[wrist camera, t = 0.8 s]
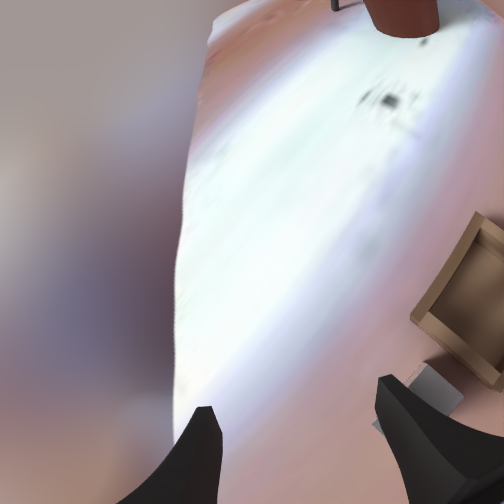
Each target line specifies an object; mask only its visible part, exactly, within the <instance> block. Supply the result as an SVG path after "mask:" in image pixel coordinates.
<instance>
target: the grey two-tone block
mask: <svg viewBox="0 0 504 504" xmlns="http://www.w3.org/2000/svg"><path fill="white" fill-rule="evenodd" d="M404 385H405V386H406V387H407V388H409V389H410V390H411V391H412V392H413V393H415V394H416V395H417V396H418V397H420V398H421V399H422V400H424V401H425V402H426V403H428V404H429V405H430V406H432V407H433V408H435V409H436V410H438V411H439V412H441V413H443V414H444V415H446V416H449V415H450V414H451V413H452V412H453V410H454V409H455V408H456V407H457V406H458V405H459V403H460V402H461V401H462V400H463V399H464V397H465V396H463V395H462V394H461V393H460V392H459V391H458V390H457V389H456V388H454V387H453V386H452V385H451V384H450V383H449V382H448V381H447V380H445V379H444V378H443V377H442V376H441V375H440V374H439V373H437V372H436V371H435V370H434V369H433V368H432V367H431V366H429V365H428V364H426V363H424V362H422V363H421V364H420V365H419V366H418V368H417V369H416V370H415V371H414V372H413V374H412V375H411V376H410V377H409V378H408V379H407V380H406V382H405V383H404ZM372 425H373V426H374V427H375V428H376V429H377V430H379V431H380V432H381V433H382V434H383V435H384V433H383V431H382V429H381V426H380V423H379V420H378V417H376V418H375V420H374V422H373V423H372ZM384 436H385V435H384Z"/></svg>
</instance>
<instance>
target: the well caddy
mask: <svg viewBox="0 0 504 504" xmlns="http://www.w3.org/2000/svg"><path fill="white" fill-rule="evenodd" d="M410 320H411V321H412V322H413V323H414V324H416V325H417V326H418V327H419V328H420V329H422V330H423V331H424V332H425V333H426V334H428V335H429V336H430V337H431V338H432V339H434V340H435V341H436V342H437V343H438V344H439V345H441V346H442V347H443V348H444V349H445V350H446V351H448V352H449V353H450V354H451V355H452V356H453V357H455V358H456V359H457V360H458V361H459V362H460V363H461V364H463V365H464V366H465V367H466V368H467V369H468V370H469V371H471V372H472V373H473V374H474V375H475V376H476V377H477V378H478V379H479V380H481V381H482V382H483V383H484V384H485V385H486V386H487V387H488V388H489V389H492V390H495V391H497V392H500V393H501V392H502V390H503V389H504V231H503V230H502V229H501V228H499V227H498V226H497V225H495V224H494V223H492V222H491V221H490V220H488V219H487V218H485V217H484V216H482V215H481V214H480V213H478V212H477V211H475V213H474V215H473V217H472V219H471V221H470V222H469V224H468V226H467V228H466V230H465V231H464V233H463V235H462V237H461V238H460V240H459V242H458V244H457V245H456V247H455V249H454V250H453V252H452V254H451V255H450V257H449V258H448V260H447V262H446V263H445V265H444V266H443V268H442V269H441V271H440V272H439V274H438V275H437V277H436V278H435V280H434V281H433V283H432V284H431V286H430V287H429V289H428V290H427V292H426V293H425V294H424V296H423V297H422V299H421V300H420V301H419V303H418V304H417V306H416V307H415V308H414V310H413V311H412V312H411V314H410Z"/></svg>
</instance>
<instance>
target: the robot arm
mask: <svg viewBox="0 0 504 504" xmlns="http://www.w3.org/2000/svg"><path fill="white" fill-rule="evenodd" d="M375 411H376V414H377V417H378V420H379V423H380V426H381V429H382V431H383V433H384V435H385V437H386V439H387V441H388V444H389V446H390V448H391V450H392V452H393V454H394V456H395V459H396V461H397V463H398V465H399V468H400V471H401V474H402V477H403V481H404V484H405V488H406V492H407V495H408V499H409V504H504V437H500V436H495V435H491V434H488V433H484V432H481V431H478V430H476V429H473V428H470V427H468V426H465V425H463V424H461V423H459V422H457V421H455V420H453V419H451V418H449V417H448V416H446V415H444V414H443V413H441V412H439V411H438V410H436V409H435V408H433V407H432V406H430V405H429V404H428V403H426V402H425V401H424V400H422V399H421V398H420V397H418V396H417V395H416V394H415V393H413V392H412V391H411V390H410V389H409V388H407V387H406V386H405V385H404V384H403V383H401V382H400V381H399V380H398V379H397V378H396V377H394V376H393V375H392V374H390V375H386V376H383V377H379V378H378V387H377V395H376V402H375ZM222 454H223V438H222V431H221V429H220V427H219V424H218V422H217V419H216V417H215V414H214V411H213V409H212V406H205V407H197V408H196V410H195V412H194V414H193V415H192V417H191V419H190V421H189V423H188V425H187V426H186V428H185V430H184V431H183V433H182V435H181V436H180V438H179V439H178V441H177V443H176V444H175V446H174V447H173V449H172V450H171V451H170V453H169V454H168V455H167V457H166V458H165V459H164V461H163V462H162V463H161V464H160V465H159V467H158V468H157V469H156V470H155V471H154V472H153V473H152V474H151V475H150V476H149V477H148V479H146V480H145V481H144V482H143V483H142V484H141V485H140V486H139V487H138V488H137V489H135V490H134V491H133V492H131V493H130V494H129V495H128V496H126V497H125V498H124V499H122V500H121V501H119V502H118V503H116V504H217V495H218V486H219V479H220V471H221V463H222Z"/></svg>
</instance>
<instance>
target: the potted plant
mask: <svg viewBox="0 0 504 504" xmlns="http://www.w3.org/2000/svg"><path fill="white" fill-rule="evenodd" d="M363 1H364V3H365V5H366V8H367V10H368V12H369V14H370V16H371V19H372V21H373V23H374V26H375V27H376V28H377V30H379V31H380V32H382V33H383V34H386V35H390V36H393V37H400V38H419V37H425V36H428V35H431V34H433V33H434V32H436V31H437V30H438V28H439V17H438V9H437V1H436V0H363ZM331 8H332V10H333V11H338V10H339V2H338V0H331Z"/></svg>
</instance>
